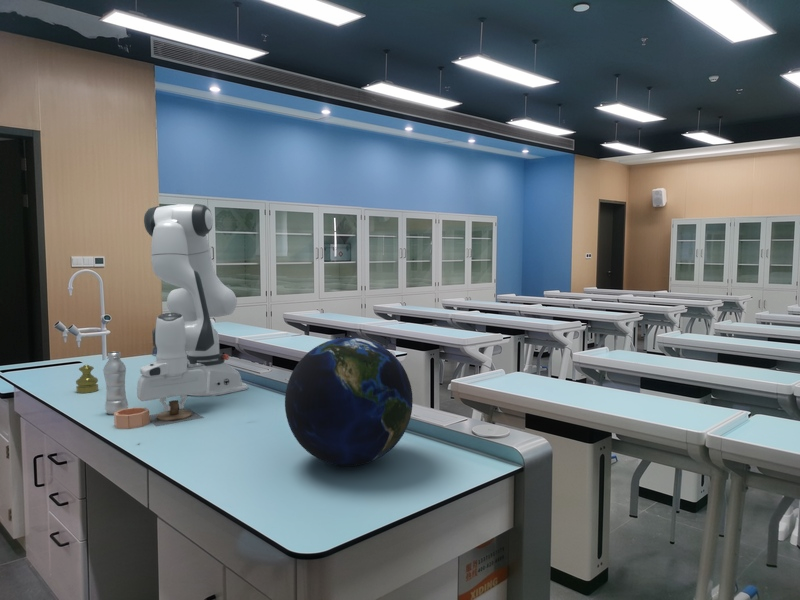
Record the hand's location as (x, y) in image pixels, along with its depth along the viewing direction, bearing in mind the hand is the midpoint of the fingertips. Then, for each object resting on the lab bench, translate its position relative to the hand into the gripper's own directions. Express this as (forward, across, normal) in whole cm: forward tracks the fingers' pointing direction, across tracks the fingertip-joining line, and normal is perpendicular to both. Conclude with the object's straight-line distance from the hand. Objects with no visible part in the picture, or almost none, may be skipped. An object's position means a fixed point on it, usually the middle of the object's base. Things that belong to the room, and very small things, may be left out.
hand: (174, 410), depth 177 cm
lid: (+2, 0, 0) cm, 2 cm away
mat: (+3, 0, 0) cm, 3 cm away
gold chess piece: (+3, +14, -61) cm, 63 cm away
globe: (+3, -21, +67) cm, 70 cm away
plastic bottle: (+3, +13, -17) cm, 22 cm away
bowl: (+2, +12, 0) cm, 12 cm away
